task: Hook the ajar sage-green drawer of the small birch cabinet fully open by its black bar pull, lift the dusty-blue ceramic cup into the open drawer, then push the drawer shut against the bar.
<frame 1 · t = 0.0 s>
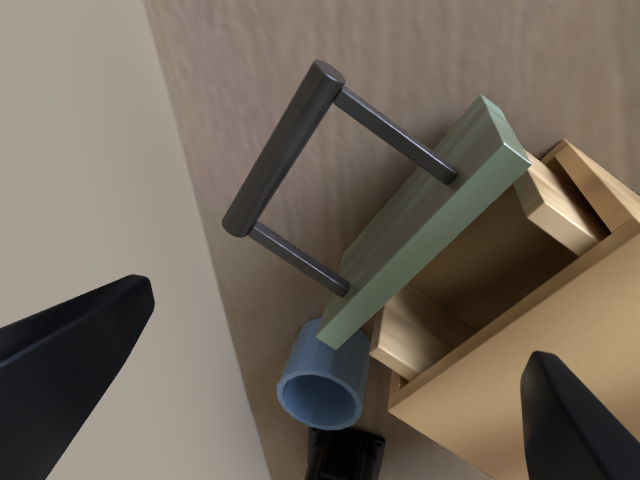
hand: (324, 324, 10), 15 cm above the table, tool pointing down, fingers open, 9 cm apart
drawer: (440, 246, 19), point 5 cm above the table, slide at 3.5 cm
cup: (333, 345, 30), on the table
cabinet: (554, 286, 24), on the table
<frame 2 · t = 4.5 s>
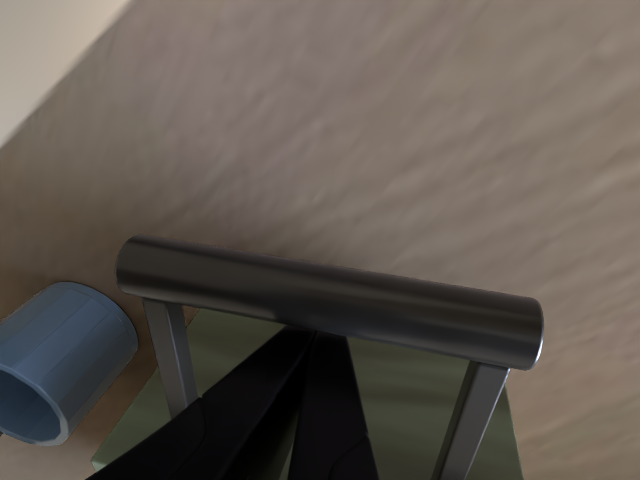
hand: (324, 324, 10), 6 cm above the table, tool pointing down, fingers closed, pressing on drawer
drawer: (323, 441, 14), point 5 cm above the table, slide at 3.8 cm, touching gripper
cup: (89, 324, 22), on the table
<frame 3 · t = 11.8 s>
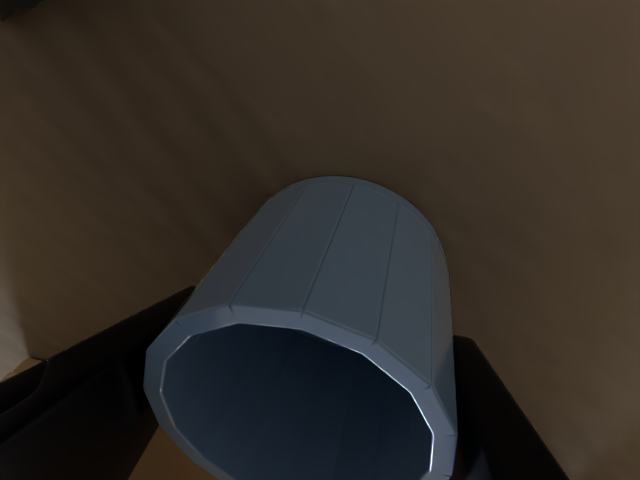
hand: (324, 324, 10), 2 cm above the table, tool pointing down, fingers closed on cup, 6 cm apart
cup: (341, 270, 11), on the table, touching gripper
cabinet: (183, 475, 20), on the table
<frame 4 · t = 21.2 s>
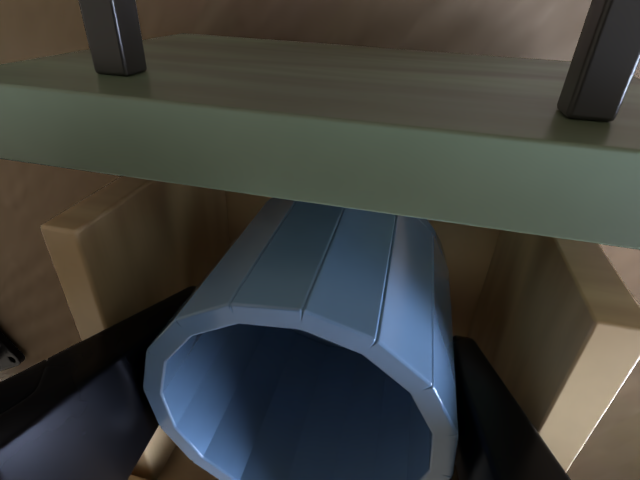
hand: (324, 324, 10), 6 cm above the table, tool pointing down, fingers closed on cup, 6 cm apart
drawer: (344, 186, 9), point 5 cm above the table, slide at 8.7 cm
cup: (341, 270, 11), point 4 cm above the table, touching gripper
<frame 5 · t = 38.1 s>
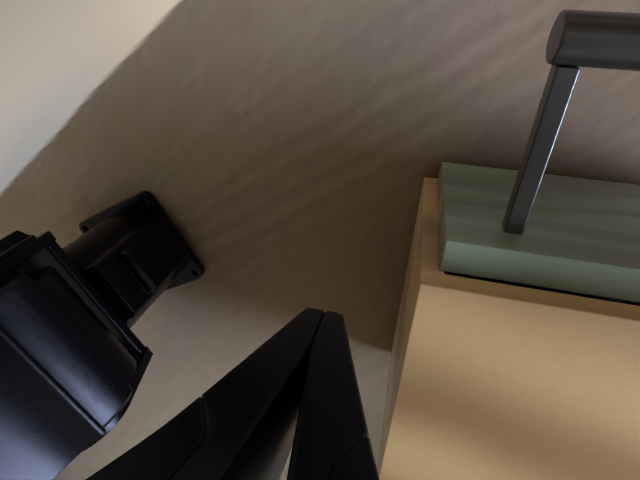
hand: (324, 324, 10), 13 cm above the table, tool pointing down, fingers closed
drawer: (576, 269, 16), point 5 cm above the table, slide at 0.0 cm, touching cup
cup: (540, 287, 20), point 2 cm above the table, touching drawer
cabinet: (519, 296, 23), on the table
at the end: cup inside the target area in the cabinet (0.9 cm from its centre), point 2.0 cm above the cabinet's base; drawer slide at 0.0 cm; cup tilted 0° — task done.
